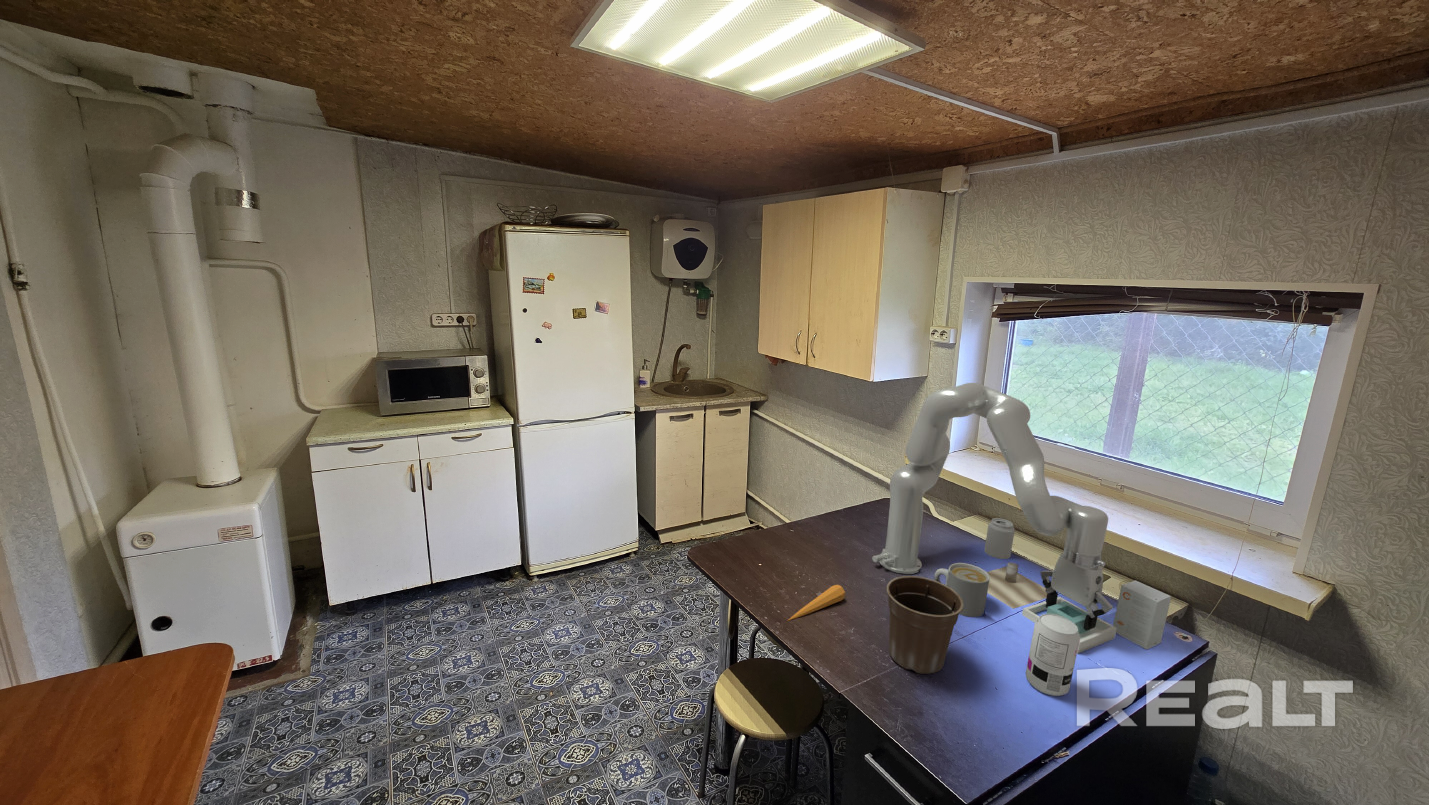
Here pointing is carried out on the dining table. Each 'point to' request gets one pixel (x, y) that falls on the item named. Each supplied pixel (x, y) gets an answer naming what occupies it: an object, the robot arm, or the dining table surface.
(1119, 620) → the small box
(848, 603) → the dining table surface
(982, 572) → the coffee mug
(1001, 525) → the can
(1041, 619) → the supplement can
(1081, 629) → the collar
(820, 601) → the carrot
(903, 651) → the plant pot
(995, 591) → the stake base
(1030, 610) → the tray
